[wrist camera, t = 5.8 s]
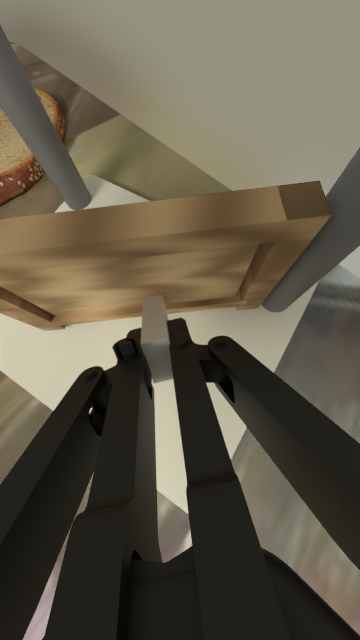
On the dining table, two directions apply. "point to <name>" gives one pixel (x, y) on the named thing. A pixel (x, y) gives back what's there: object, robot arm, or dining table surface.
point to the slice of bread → (23, 152)
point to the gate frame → (99, 337)
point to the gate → (155, 254)
